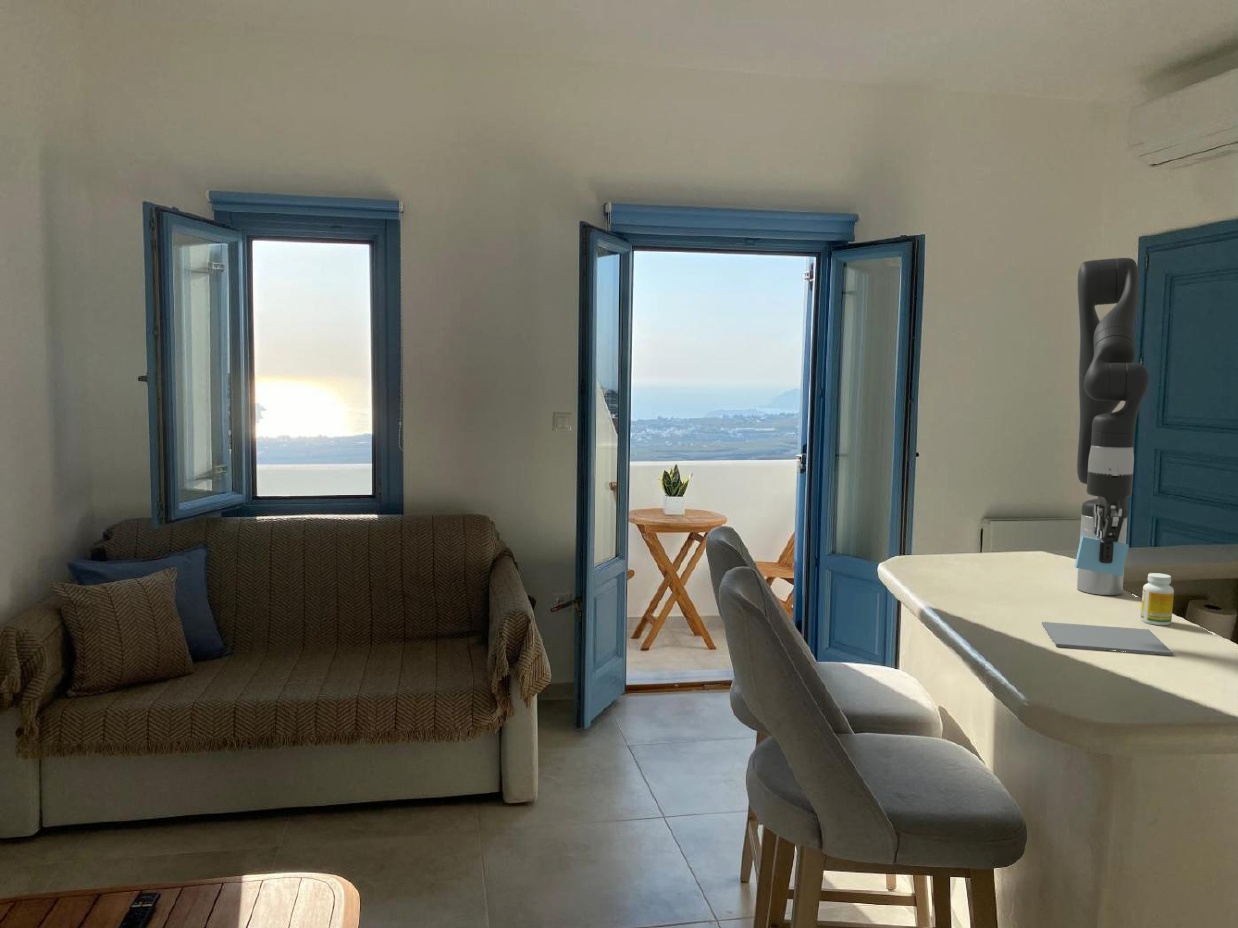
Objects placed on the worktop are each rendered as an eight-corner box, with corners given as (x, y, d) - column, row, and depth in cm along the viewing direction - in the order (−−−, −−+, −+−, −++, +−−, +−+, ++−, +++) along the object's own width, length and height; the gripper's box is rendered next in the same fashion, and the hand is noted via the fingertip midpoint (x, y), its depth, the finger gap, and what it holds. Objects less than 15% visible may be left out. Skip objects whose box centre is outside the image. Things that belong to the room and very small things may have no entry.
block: (1074, 566, 179) (1081, 535, 179) (1120, 574, 178) (1126, 543, 177) (1076, 567, 178) (1083, 537, 177) (1122, 576, 176) (1129, 545, 175)
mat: (1041, 624, 186) (1041, 621, 186) (1148, 632, 181) (1148, 629, 181) (1056, 646, 171) (1056, 643, 171) (1172, 655, 166) (1172, 652, 166)
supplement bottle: (1134, 619, 190) (1137, 572, 189) (1156, 617, 191) (1159, 571, 190) (1155, 626, 185) (1159, 578, 184) (1178, 624, 186) (1181, 577, 185)
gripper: (1080, 465, 183) (1075, 553, 185) (1096, 473, 170) (1090, 568, 172) (1123, 467, 181) (1117, 555, 183) (1142, 475, 168) (1136, 570, 170)
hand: (1104, 561), depth 177 cm, fingers closed on block, 1 cm apart
